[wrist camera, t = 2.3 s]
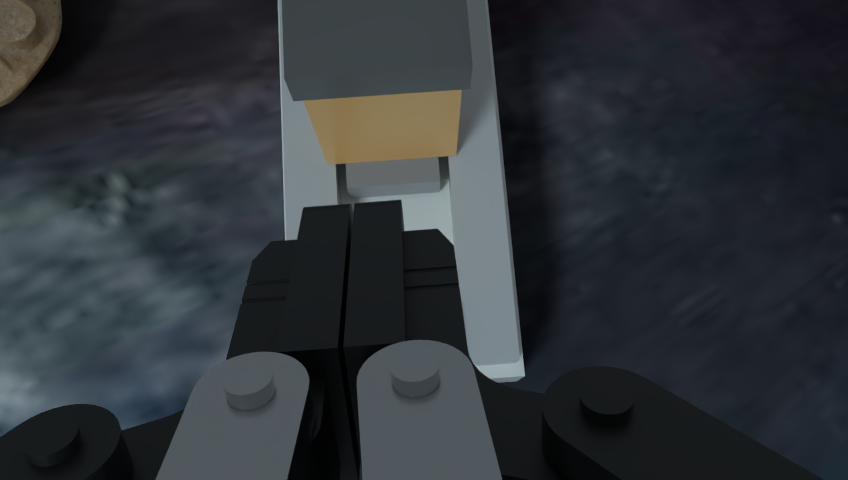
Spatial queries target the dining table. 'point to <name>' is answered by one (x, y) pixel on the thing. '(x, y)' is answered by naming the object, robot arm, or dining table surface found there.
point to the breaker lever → (380, 86)
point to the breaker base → (437, 203)
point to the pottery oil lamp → (25, 42)
